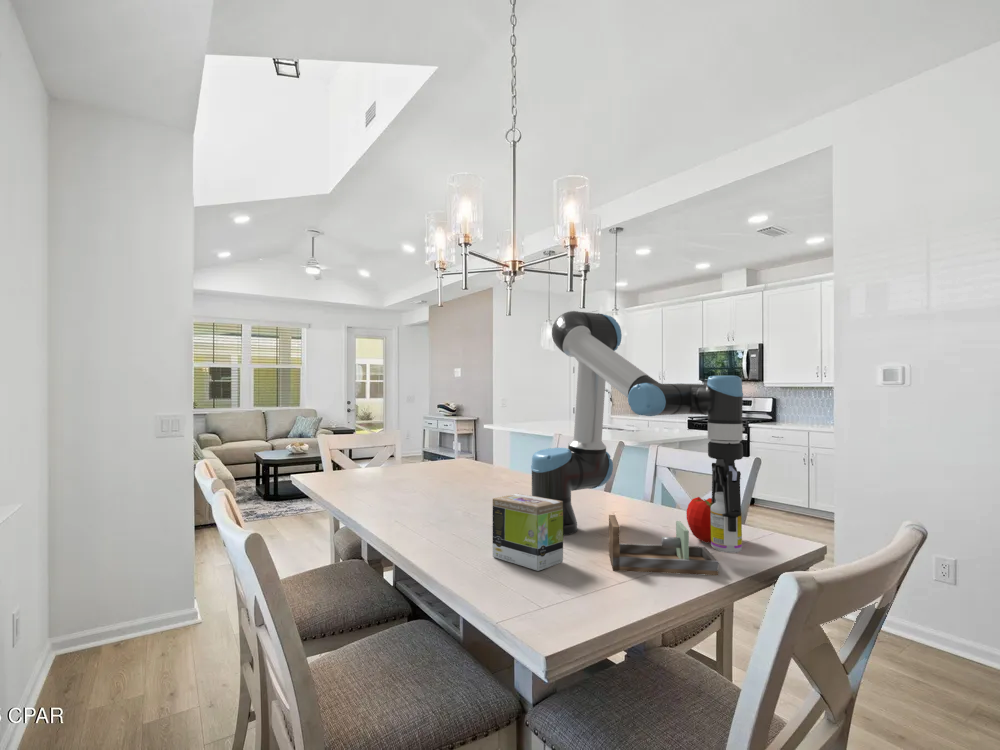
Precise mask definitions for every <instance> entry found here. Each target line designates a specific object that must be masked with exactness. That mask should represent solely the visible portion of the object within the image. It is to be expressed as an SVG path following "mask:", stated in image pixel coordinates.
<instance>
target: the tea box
mask: <svg viewBox="0 0 1000 750" xmlns="http://www.w3.org/2000/svg"><path fill="white" fill-rule="evenodd" d="M492 557H493V558H496V559H499V560H502V561H505V562H507V563H511V564H515V565H518V566H522V567H524V568H528V569H530V570H534V571H537V572H539V571H542V570H545V569H548V568H551V567H553V566H556V565H558V564H561V563H563V560H564V535H563V501H559V500H553V499H547V498H541V497H536V496H532V495H531V494H530V495H529V494H523V493H515V494H514V493H513V494H509V495H504V496H503V495H502V496H498V497H493V498H492Z"/></svg>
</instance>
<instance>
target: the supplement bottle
mask: <svg viewBox="0 0 1000 750" xmlns="http://www.w3.org/2000/svg"><path fill="white" fill-rule="evenodd" d="M715 499H716V503H714V504H712V505H711V543H710V545H711V548H713V549H714V550H715V551H719V552H722V553H723V552H724V553H739V552H741V551H742V549H743V534H742V533H743V532H742V531H743V530H742V529H743V527H742V524H743V523H742V517H743V516H742V512H741V516H738V517H737V534H738V546H729V545H724V517H723V516H722V514H725V504H724V495H723V492H716V493H715Z"/></svg>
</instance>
